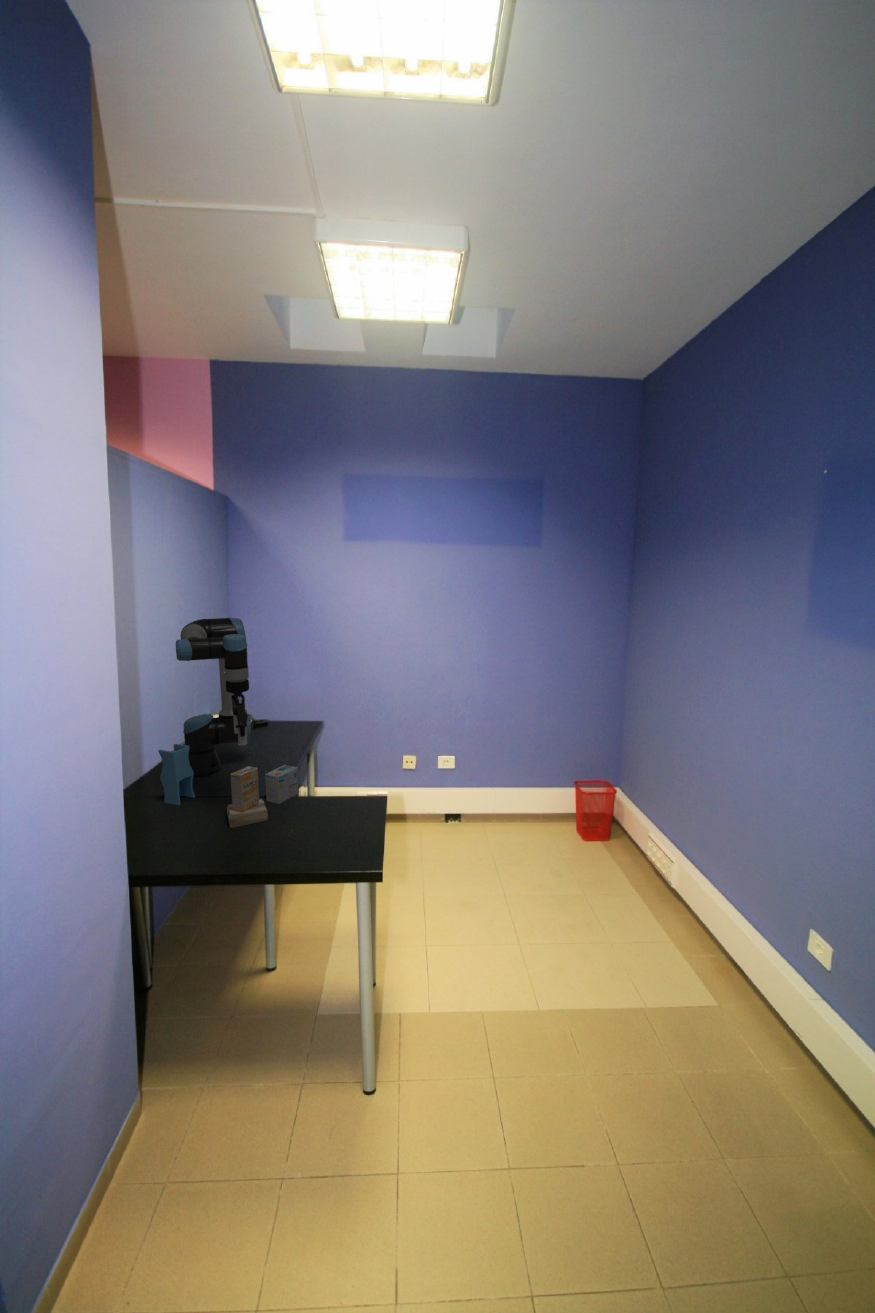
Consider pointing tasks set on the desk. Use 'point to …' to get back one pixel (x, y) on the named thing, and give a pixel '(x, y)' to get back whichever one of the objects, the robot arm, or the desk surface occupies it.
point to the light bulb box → (281, 784)
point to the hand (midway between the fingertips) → (240, 738)
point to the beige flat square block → (247, 815)
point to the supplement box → (244, 788)
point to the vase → (176, 774)
